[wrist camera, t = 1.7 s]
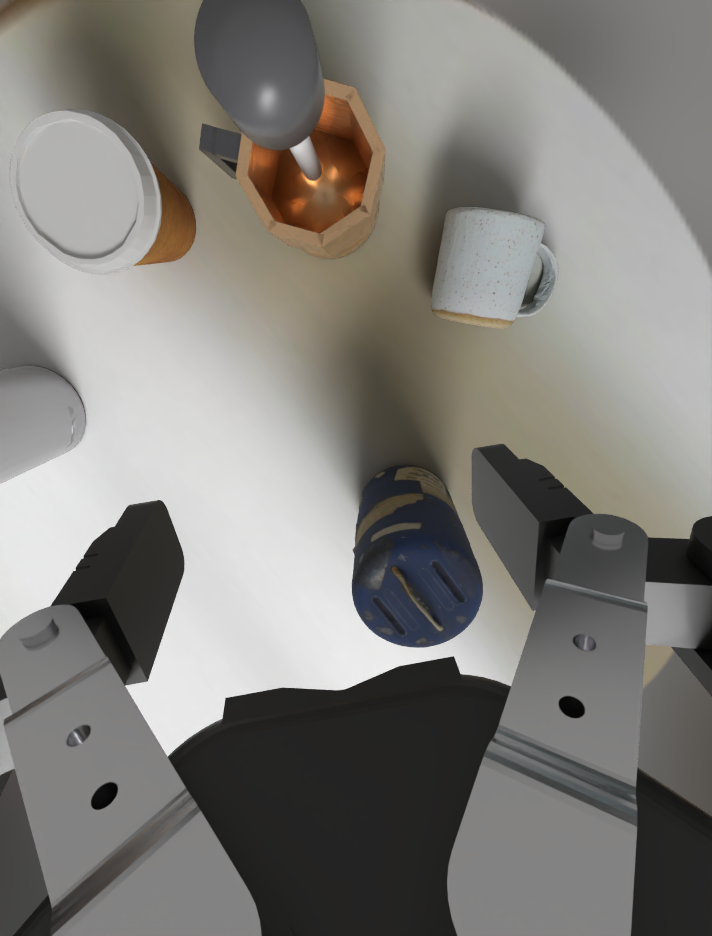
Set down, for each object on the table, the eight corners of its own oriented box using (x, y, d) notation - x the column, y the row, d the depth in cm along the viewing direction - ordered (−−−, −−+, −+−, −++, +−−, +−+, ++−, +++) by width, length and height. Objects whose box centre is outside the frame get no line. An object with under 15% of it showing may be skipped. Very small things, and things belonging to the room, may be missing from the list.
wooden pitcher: (239, 235, 41) (185, 209, 29) (256, 121, 38) (204, 43, 26) (364, 270, 41) (360, 257, 30) (391, 160, 38) (397, 100, 27)
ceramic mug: (422, 316, 42) (434, 319, 35) (440, 216, 39) (456, 197, 32) (537, 332, 42) (571, 339, 35) (562, 234, 40) (605, 219, 32)
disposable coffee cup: (225, 182, 39) (163, 133, 28) (202, 296, 42) (138, 293, 31) (114, 142, 39) (6, 75, 27) (99, 261, 42) (-3, 245, 30)
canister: (377, 554, 51) (377, 681, 34) (344, 478, 48) (327, 574, 31) (462, 527, 49) (507, 645, 32) (433, 447, 46) (466, 529, 29)
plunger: (276, 196, 30) (187, 100, 16) (288, 125, 29) (203, -48, 15) (335, 212, 30) (299, 132, 16) (350, 143, 29) (325, -11, 15)
